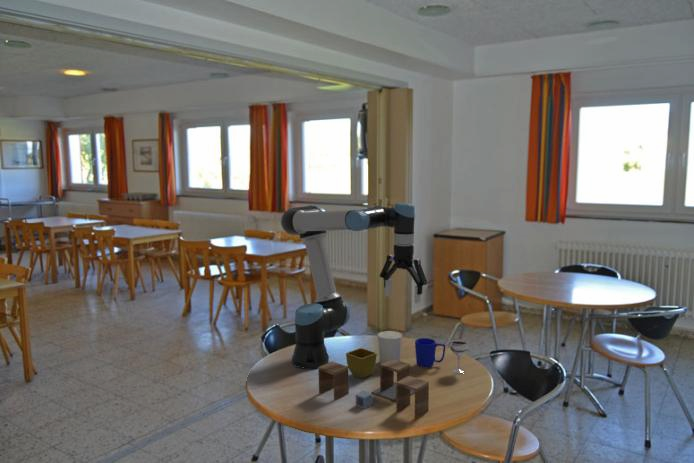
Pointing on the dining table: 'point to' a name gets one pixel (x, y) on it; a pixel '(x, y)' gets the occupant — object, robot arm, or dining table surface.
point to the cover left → (334, 379)
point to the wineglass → (459, 350)
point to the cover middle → (392, 372)
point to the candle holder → (389, 345)
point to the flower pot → (361, 362)
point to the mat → (389, 392)
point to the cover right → (420, 394)
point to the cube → (363, 399)
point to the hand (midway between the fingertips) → (402, 299)
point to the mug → (426, 352)
